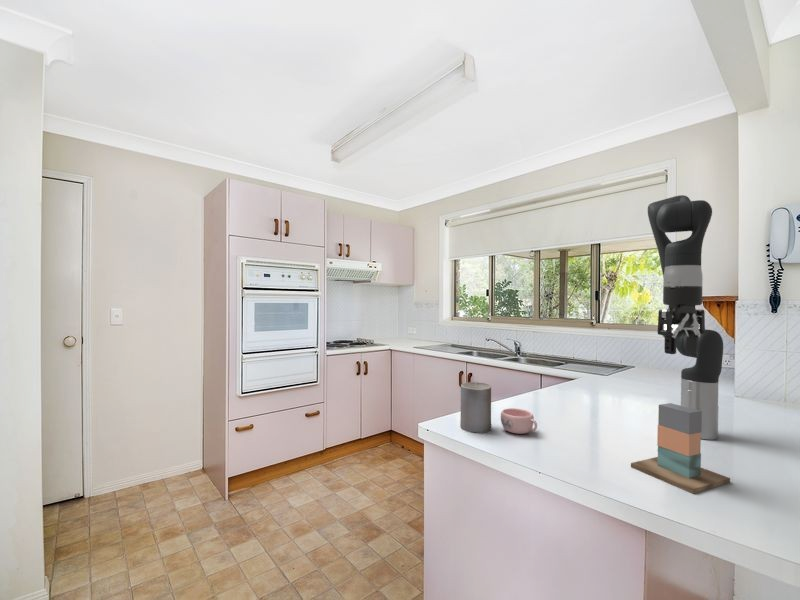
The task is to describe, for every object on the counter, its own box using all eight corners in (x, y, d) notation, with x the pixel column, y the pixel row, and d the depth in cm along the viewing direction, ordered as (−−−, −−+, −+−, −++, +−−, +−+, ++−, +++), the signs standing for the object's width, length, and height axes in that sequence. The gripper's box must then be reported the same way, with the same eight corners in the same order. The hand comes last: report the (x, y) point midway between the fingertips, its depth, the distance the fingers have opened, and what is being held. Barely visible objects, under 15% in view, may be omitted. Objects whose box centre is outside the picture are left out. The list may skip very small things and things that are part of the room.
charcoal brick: (670, 423, 95) (670, 403, 95) (701, 432, 88) (701, 410, 88) (658, 424, 93) (658, 404, 93) (689, 434, 87) (689, 412, 87)
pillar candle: (475, 421, 128) (475, 377, 128) (497, 429, 120) (498, 382, 120) (453, 426, 122) (454, 380, 122) (475, 435, 114) (475, 386, 114)
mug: (493, 429, 120) (494, 411, 120) (512, 423, 126) (512, 406, 126) (527, 441, 110) (527, 421, 110) (545, 434, 116) (546, 415, 116)
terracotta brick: (668, 442, 95) (669, 423, 95) (700, 453, 88) (700, 432, 88) (657, 445, 93) (657, 425, 93) (688, 456, 86) (689, 434, 86)
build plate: (666, 458, 100) (666, 435, 100) (729, 482, 87) (730, 456, 87) (630, 466, 94) (631, 442, 94) (693, 493, 81) (693, 466, 81)
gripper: (683, 286, 97) (682, 349, 97) (647, 284, 91) (646, 352, 91) (717, 285, 90) (716, 353, 90) (681, 283, 84) (679, 356, 84)
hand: (681, 352), depth 90 cm, fingers open, 8 cm apart
